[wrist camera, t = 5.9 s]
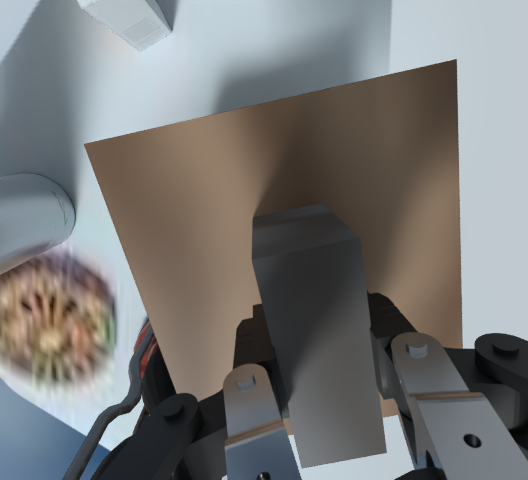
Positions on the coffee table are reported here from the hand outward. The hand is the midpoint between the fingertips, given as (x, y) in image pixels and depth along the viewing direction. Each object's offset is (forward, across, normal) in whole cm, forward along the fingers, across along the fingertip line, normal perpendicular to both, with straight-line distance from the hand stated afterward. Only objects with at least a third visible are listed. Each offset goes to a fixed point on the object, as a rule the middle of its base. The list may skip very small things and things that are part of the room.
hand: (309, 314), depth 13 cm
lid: (+3, 0, 0) cm, 3 cm away
